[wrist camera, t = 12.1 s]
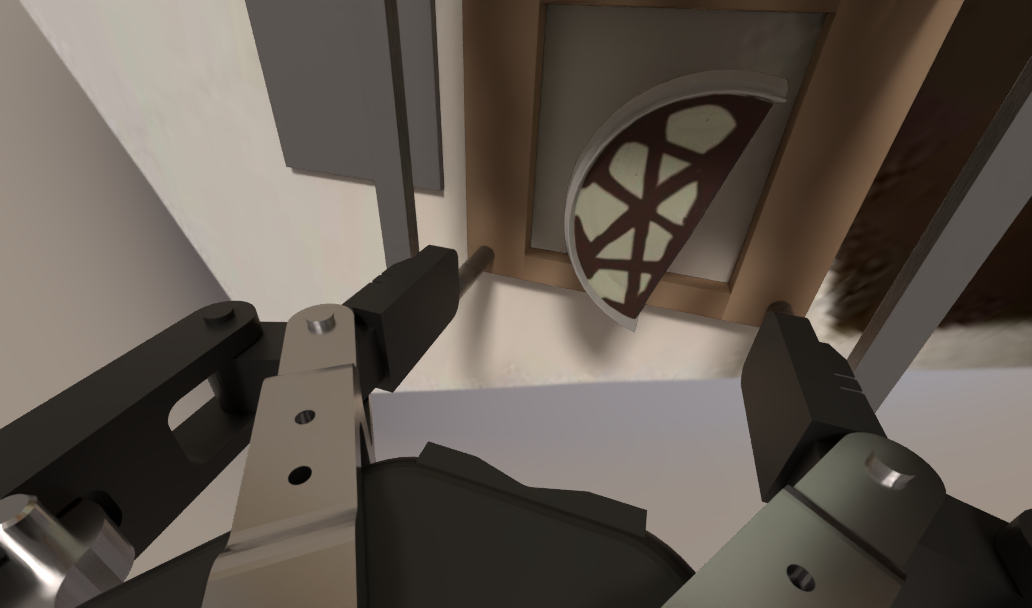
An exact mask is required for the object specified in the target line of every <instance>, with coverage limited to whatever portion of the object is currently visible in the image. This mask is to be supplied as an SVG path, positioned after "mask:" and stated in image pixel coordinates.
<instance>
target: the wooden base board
mask: <svg viewBox="0 0 1032 608" xmlns="http://www.w3.org/2000/svg"><path fill="white" fill-rule="evenodd" d="M963 1H964V0H462V13H463V60H464V106H465V153H466V199H467V246H468V259H469V258H470V257H471V256H472V255H473V254H474V253H475V252H476V251H477V249H478V248H479V247H481V246H488V247H490V248H491V249H492V250H493V251H494V254H495V258H494V260H493V261H492V262H491V263H490V265H489V266H488V267H487V268H486V269H485V270H484V272H489V273H494V274H499V275H504V276H509V277H513V278H518V279H523V280H528V281H533V282H538V283H543V284H548V285H553V286H558V287H563V288H568V289H573V290H578V291H583V292H586V291H585V289H584V288H583V286H582V284H581V282H580V281H579V279H578V277H577V275H576V273H575V271H574V269H573V267H572V264H571V261H570V258H569V255H568V254H565V253H559V252H554V251H548V250H543V249H537V248H532V247H530V246H531V231H532V216H533V201H534V186H535V171H536V156H537V141H538V127H539V112H540V97H541V82H542V67H543V52H544V37H545V22H546V7H547V4H559V5H588V6H618V7H647V8H677V9H706V10H736V11H765V12H795V13H824V14H827V16H826V19H825V22H824V25H823V27H822V30H821V33H820V36H819V38H818V41H817V44H816V47H815V49H814V52H813V55H812V57H811V60H810V63H809V66H808V68H807V71H806V74H805V77H804V79H803V82H802V85H801V88H800V90H799V93H798V96H797V99H796V101H795V104H794V107H793V110H792V112H791V115H790V118H789V120H788V123H787V126H786V129H785V131H784V134H783V137H782V140H781V142H780V145H779V148H778V151H777V153H776V156H775V159H774V162H773V164H772V167H771V170H770V172H769V175H768V178H767V181H766V183H765V186H764V189H763V192H762V194H761V197H760V200H759V203H758V205H757V208H756V211H755V214H754V216H753V219H752V222H751V225H750V227H749V230H748V233H747V235H746V238H745V241H744V244H743V246H742V249H741V252H740V255H739V257H738V260H737V263H736V266H735V268H734V271H733V274H732V277H731V279H730V282H729V283H724V282H718V281H713V280H707V279H702V278H696V277H691V276H685V275H680V274H674V273H669V272H665V274H664V275H663V277H662V278H661V280H660V281H659V283H658V284H657V286H656V287H655V289H654V290H653V292H652V293H651V295H650V297H649V298H648V300H647V302H646V303H645V304H647V305H652V306H657V307H662V308H667V309H672V310H676V311H681V312H686V313H691V314H696V315H701V316H706V317H711V318H716V319H721V320H726V321H731V322H736V323H741V324H746V325H751V326H756V327H761V325H762V322H763V320H764V318H765V316H766V315H767V307H768V306H769V305H770V304H771V303H773V302H776V301H785V302H787V303H789V304H790V305H791V307H792V309H793V311H794V314H795V316H800V317H805V316H806V314H807V312H808V310H809V308H810V306H811V304H812V302H813V300H814V298H815V296H816V294H817V292H818V290H819V288H820V286H821V284H822V282H823V280H824V278H825V276H826V274H827V272H828V270H829V268H830V266H831V264H832V262H833V260H834V258H835V256H836V254H837V252H838V250H839V248H840V246H841V244H842V242H843V240H844V238H845V236H846V234H847V232H848V230H849V228H850V226H851V224H852V222H853V220H854V218H855V216H856V214H857V212H858V210H859V208H860V206H861V204H862V202H863V200H864V198H865V196H866V194H867V192H868V190H869V188H870V186H871V184H872V182H873V180H874V178H875V176H876V174H877V172H878V170H879V168H880V166H881V165H882V163H883V161H884V159H885V157H886V155H887V153H888V151H889V149H890V147H891V145H892V143H893V141H894V139H895V137H896V135H897V133H898V131H899V129H900V127H901V125H902V123H903V121H904V119H905V117H906V115H907V113H908V111H909V109H910V107H911V105H912V103H913V101H914V99H915V97H916V95H917V93H918V91H919V89H920V87H921V85H922V83H923V81H924V79H925V77H926V75H927V73H928V71H929V69H930V67H931V65H932V63H933V61H934V59H935V57H936V55H937V53H938V51H939V49H940V47H941V45H942V43H943V41H944V39H945V37H946V35H947V33H948V31H949V29H950V27H951V25H952V23H953V21H954V19H955V17H956V15H957V13H958V11H959V9H960V7H961V5H962V3H963Z"/></svg>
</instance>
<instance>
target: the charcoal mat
mask: <svg viewBox="0 0 1032 608" xmlns="http://www.w3.org/2000/svg"><path fill="white" fill-rule="evenodd" d="M245 2H246V6H247V11H248V15H249V19H250V23H251V27H252V31H253V35H254V39H255V43H256V47H257V51H258V55H259V59H260V63H261V67H262V71H263V75H264V79H265V83H266V87H267V91H268V95H269V99H270V103H271V107H272V111H273V115H274V119H275V123H276V127H277V131H278V135H279V139H280V143H281V147H282V151H283V155H284V159H285V163H286V167H291V168H297V169H304V170H310V171H317V172H323V173H329V174H336V175H342V176H349V177H355V178H361V179H368V180H374V172H373V165H372V158H371V151H370V144H369V136H368V129H367V122H366V115H365V108H364V101H363V93H362V86H361V79H360V72H359V65H358V57H357V50H356V43H355V36H354V29H353V22H352V14H351V7H350V0H245ZM397 9H398V20H399V32H400V43H401V54H402V65H403V76H404V87H405V98H406V109H407V120H408V132H409V143H410V154H411V165H412V176H413V187H419V188H425V189H432V190H438V191H441V190H443V189H444V176H443V156H442V136H441V116H440V96H439V76H438V56H437V36H436V16H435V0H397ZM374 181H375V180H374Z"/></svg>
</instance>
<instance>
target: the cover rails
mask: <svg viewBox="0 0 1032 608" xmlns="http://www.w3.org/2000/svg"><path fill="white" fill-rule="evenodd" d="M350 7H351V14H352V22H353V29H354V36H355V43H356V50H357V57H358V65H359V72H360V79H361V86H362V93H363V101H364V108H365V115H366V122H367V129H368V136H369V144H370V151H371V158H372V165H373V172H374V180H375V187H376V194H377V201H378V208H379V216H380V223H381V230H382V237H383V244H384V251H385V259H386V266H387V269H388V268H389V267H390V266H392V265H393V264H395V263H398V262H401V261H403V260H406V259H408V258H413V257H414V256H415V255H417V254H418V253H419V243H418V232H417V221H416V209H415V198H414V187H413V176H412V165H411V154H410V143H409V132H408V120H407V109H406V98H405V87H404V76H403V65H402V54H401V43H400V32H399V20H398V9H397V0H350ZM1031 196H1032V56H1031V58H1030V60H1029V61H1028V63H1027V65H1026V66H1025V68H1024V70H1023V71H1022V73H1021V75H1020V76H1019V78H1018V79H1017V81H1016V83H1015V84H1014V86H1013V88H1012V89H1011V91H1010V93H1009V94H1008V96H1007V97H1006V99H1005V101H1004V102H1003V104H1002V106H1001V107H1000V109H999V111H998V112H997V114H996V116H995V117H994V119H993V120H992V122H991V124H990V125H989V127H988V129H987V130H986V132H985V134H984V135H983V137H982V139H981V140H980V142H979V143H978V145H977V147H976V148H975V150H974V152H973V153H972V155H971V157H970V158H969V160H968V162H967V163H966V165H965V166H964V168H963V170H962V171H961V173H960V175H959V176H958V178H957V180H956V181H955V183H954V185H953V186H952V188H951V189H950V191H949V193H948V194H947V196H946V198H945V199H944V201H943V203H942V204H941V206H940V208H939V209H938V211H937V212H936V214H935V216H934V217H933V219H932V221H931V222H930V224H929V226H928V227H927V229H926V231H925V232H924V234H923V235H922V237H921V239H920V240H919V242H918V244H917V245H916V247H915V249H914V250H913V252H912V254H911V255H910V257H909V258H908V260H907V262H906V263H905V265H904V267H903V268H902V270H901V272H900V273H899V275H898V277H897V278H896V280H895V281H894V283H893V285H892V286H891V288H890V290H889V291H888V293H887V295H886V296H885V298H884V300H883V301H882V303H881V304H880V306H879V308H878V309H877V311H876V313H875V314H874V316H873V318H872V319H871V321H870V323H869V324H868V326H867V327H866V329H865V331H864V332H863V334H862V336H861V337H860V339H859V341H858V342H857V344H856V345H855V347H854V349H853V350H852V352H851V354H850V355H849V357H848V359H847V362H848V364H849V366H850V368H851V370H852V371H853V373H854V375H855V380H857V381H858V383H859V385H860V387H861V389H862V390H863V391H862V394H865V396H866V398H867V400H868V402H869V404H870V406H871V408H872V409H873V411H874V413H875V412H876V411H877V409H878V408H879V407H880V405H881V404H882V402H883V401H884V400H885V398H886V397H887V396H888V394H889V393H890V391H891V390H892V389H893V387H894V386H895V384H896V383H897V382H898V380H899V379H900V378H901V376H902V375H903V373H904V372H905V371H906V369H907V368H908V366H909V365H910V364H911V362H912V361H913V359H914V358H915V357H916V355H917V354H918V353H919V351H920V350H921V348H922V347H923V346H924V344H925V343H926V341H927V340H928V339H929V337H930V336H931V334H932V333H933V332H934V330H935V329H936V328H937V326H938V325H939V323H940V322H941V321H942V319H943V318H944V316H945V315H946V314H947V312H948V311H949V310H950V308H951V307H952V305H953V304H954V303H955V301H956V300H957V298H958V297H959V296H960V294H961V293H962V291H963V290H964V289H965V287H966V286H967V285H968V283H969V282H970V280H971V279H972V278H973V276H974V275H975V273H976V272H977V271H978V269H979V268H980V266H981V265H982V264H983V262H984V261H985V260H986V258H987V257H988V255H989V254H990V253H991V251H992V250H993V248H994V247H995V246H996V244H997V243H998V241H999V240H1000V239H1001V237H1002V236H1003V235H1004V233H1005V232H1006V230H1007V229H1008V228H1009V226H1010V225H1011V223H1012V222H1013V221H1014V219H1015V218H1016V216H1017V215H1018V214H1019V212H1020V211H1021V210H1022V208H1023V207H1024V205H1025V204H1026V203H1027V201H1028V200H1029V198H1030V197H1031ZM494 258H495V254H494V251H493V250H492V249H491V248H490V247H488V246H481V247H479V248H478V249H477V251H476V252H475V253H474V254H473V255H472V256H471V257H470V258H469V259H468V260H467V261H466V262H465V263H464V264H463V265H462V266H461V267H460V268H459V269H458V270H459V300H460V298H461V297H462V296H463V295H464V294H465V293H466V291H467V290H468V289H469V288H470V287H471V286H472V284H473V283H474V282H475V281H476V280H477V279H478V277H479V276H480V275H481V274H482V273H483V272H484V270H485V269H486V268H487V267H488V266H489V265H490V263H491V262H492V261H493V260H494ZM770 311H774V312H779V313H784V314H789V315H794V316H795V314H794V311H793V309H792V307H791V305H790V304H789V303H787V302H785V301H776V302H773V303H771V304H770V305H769V306H768V307H767V314H768V313H769V312H770Z"/></svg>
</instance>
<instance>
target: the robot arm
mask: <svg viewBox="0 0 1032 608" xmlns="http://www.w3.org/2000/svg"><path fill="white" fill-rule="evenodd" d="M458 305H459V270H458V255H457V252H456V251H455V250H454V249H449V248H444V247H439V246H433V245H428V246H426V247H425V248H424V249H423V250H422V251H420V252H419V253H418V254H417V255H415V256H414V257H413V258H408V259H406V260H403V261H401V262H398V263H395V264H393V265H392V266H390V267H389V268H388V269H387V270H385V271H384V272H383V273H382V275H379V276H378V277H376V278H375V279H374V280H373V281H372V283H369V284H367V285H366V286H365V287H364V288H362V289H361V290H360V291H359V292H357V293H356V294H355V295H353V296H352V297H351V298H350V299H348V300H347V301H346V302H344V303H343V304H342V305H339V304H320V305H315V306H311V307H308V308H306V309H303V310H301V311H299V312H298V313H296V314H295V315H293V316H292V317H291V318H290V319H289V321H288V322H260V321H259V318H258V315H257V312H256V309H255V307H254V306H253V305H252V304H250V303H247V302H243V301H226V302H220V303H215V304H212V305H209V306H206V307H203V308H201V309H199V310H197V311H195V312H193V313H192V314H190V315H188V316H187V317H185V318H183V319H182V320H180V321H178V322H177V323H175V324H174V325H172V326H170V327H169V328H167V329H165V330H164V331H162V332H160V333H159V334H157V335H155V336H154V337H152V338H151V339H149V340H147V341H146V342H144V343H142V344H140V345H139V346H137V347H135V348H134V349H132V350H131V351H129V352H127V353H126V354H124V355H122V356H121V357H119V358H117V359H116V360H114V361H112V362H111V363H109V364H108V365H106V366H104V367H102V368H101V369H99V370H97V371H96V372H94V373H92V374H91V375H89V376H88V377H86V378H84V379H83V380H81V381H79V382H78V383H76V384H74V385H73V386H71V387H69V388H68V389H66V390H64V391H63V392H61V393H59V394H58V395H56V396H55V397H53V398H51V399H49V400H48V401H46V402H45V403H43V404H41V405H40V406H38V407H36V408H35V409H33V410H31V411H30V412H28V413H26V414H25V415H23V416H21V417H20V418H18V419H16V420H15V421H13V422H12V423H10V424H8V425H6V426H5V427H3V428H2V429H0V608H1032V509H1029V510H1025V511H1024V512H1023V513H1021V514H1020V515H1019V516H1018V517H1016V518H1015V519H1014V520H1013V521H1011V522H1010V523H1008V522H1006V521H1004V520H1001V519H1000V518H997V517H995V516H993V515H990V514H989V513H986V512H984V511H982V510H980V509H977V508H975V507H973V506H971V505H969V504H967V503H964V502H962V501H960V500H958V499H956V498H954V497H952V496H950V495H947V494H946V489H945V486H944V484H943V482H942V480H941V478H940V477H939V475H938V474H937V473H936V472H935V471H934V469H933V468H932V467H931V466H930V465H929V464H928V463H926V462H925V461H924V460H923V459H922V458H921V457H919V456H918V455H917V454H915V453H914V452H912V451H911V450H909V449H908V448H906V447H904V446H902V445H900V444H899V443H897V442H894V441H892V440H890V439H888V438H887V436H886V434H885V432H884V430H883V428H882V427H881V425H880V423H879V421H878V419H877V417H876V415H875V413H874V411H873V409H872V408H871V406H870V404H869V402H868V400H867V398H866V396H865V394H862V391H863V390H862V389H861V387H860V385H859V383H858V381H857V380H855V375H854V373H853V371H852V370H851V368H850V366H849V364H848V362H847V360H846V359H845V358H844V357H843V356H842V355H840V354H839V353H838V352H837V351H836V350H835V349H834V348H833V347H832V346H831V345H829V344H827V343H822V342H819V340H818V338H817V336H816V334H815V332H814V330H813V328H812V325H811V323H810V321H809V320H808V319H807V318H805V317H800V316H794V315H789V314H784V313H779V312H774V311H770V312H769V313H768V314H767V315H766V316H765V318H764V320H763V322H762V325H761V327H760V329H759V331H758V334H757V336H756V338H755V340H754V343H753V345H752V347H751V349H750V352H749V354H748V356H747V358H746V361H745V363H744V366H743V370H742V376H741V388H742V394H743V399H744V404H745V410H746V416H747V421H748V427H749V433H750V438H751V444H752V449H753V455H754V459H755V465H756V471H757V476H758V482H759V488H760V493H761V499H762V502H766V503H768V504H767V505H766V506H765V507H764V508H762V509H761V510H760V511H759V513H757V514H756V515H755V516H754V517H753V518H752V519H751V520H750V521H749V522H748V523H747V524H746V525H745V526H744V527H743V528H742V529H741V530H740V531H739V532H738V533H737V534H736V535H735V536H734V537H733V538H732V539H731V540H730V541H729V542H728V543H727V544H726V545H725V546H723V547H722V549H721V550H719V551H718V552H717V553H716V554H715V555H714V556H713V557H712V558H711V559H710V560H709V561H708V562H707V563H706V564H705V565H704V566H703V567H702V568H701V569H700V570H699V571H698V572H697V573H696V572H695V571H694V570H693V569H692V568H691V567H690V566H689V565H688V564H687V562H686V561H685V560H684V559H682V557H681V556H680V555H678V554H677V553H676V552H675V551H674V550H673V549H672V548H671V547H670V546H668V545H667V544H666V543H664V542H663V541H662V540H660V539H659V538H657V537H656V536H655V535H653V534H651V533H650V532H648V531H646V517H647V510H645V509H641V508H638V507H635V506H632V505H629V504H625V503H622V502H619V501H616V500H613V499H610V498H607V497H603V496H600V495H596V494H594V493H591V492H585V491H573V490H560V489H548V488H534V487H528V486H525V485H523V484H521V483H519V482H517V481H516V480H514V479H512V478H511V477H509V476H508V475H506V474H504V473H503V472H501V471H499V470H498V469H496V468H495V467H493V466H491V465H489V464H488V463H486V462H485V461H483V460H481V459H480V458H478V457H476V456H473V455H470V454H467V453H463V452H460V451H457V450H454V449H451V448H447V447H444V446H441V445H438V444H435V443H432V442H428V443H427V444H426V446H425V448H424V449H423V451H422V452H421V454H420V455H419V457H399V458H392V459H387V460H383V461H379V462H376V459H375V447H374V435H373V424H372V411H371V401H370V396H369V394H370V393H371V392H372V391H373V390H374V389H375V388H379V389H382V390H385V391H389V392H392V393H393V392H394V391H395V389H396V388H397V387H398V386H399V385H400V383H401V382H402V381H403V380H404V378H405V377H406V376H407V375H408V373H409V372H410V371H411V370H412V369H413V367H414V366H415V365H416V364H417V362H418V361H419V360H420V359H421V357H422V356H423V355H424V354H425V352H426V351H427V350H428V349H429V348H430V346H431V345H432V344H433V343H434V341H435V340H436V339H437V338H438V336H439V335H440V334H441V333H442V332H443V330H444V329H445V328H446V327H447V325H448V324H449V323H450V322H451V320H452V319H453V318H454V316H455V314H456V312H457V309H458ZM206 379H208V381H209V383H210V386H211V387H212V389H213V392H214V394H215V396H214V397H213V398H212V399H211V400H209V401H208V402H207V403H206V404H205V405H203V406H202V407H201V408H200V409H198V410H197V411H196V412H195V413H194V414H192V415H191V416H190V417H189V418H188V419H186V420H185V421H184V422H183V423H182V424H180V425H179V426H178V427H177V428H175V429H174V430H173V431H171V429H170V427H169V425H168V416H169V413H170V410H171V409H172V407H173V406H174V405H175V403H176V402H177V401H179V400H180V399H181V398H182V397H183V396H185V395H186V394H187V393H189V392H190V391H191V390H193V389H194V388H195V387H196V386H198V385H199V384H200V383H201V382H203V381H204V380H206ZM249 443H250V445H249V449H248V454H247V459H246V463H245V468H244V473H243V477H242V482H241V487H240V491H239V496H238V501H237V505H236V510H235V515H234V519H233V524H232V529H231V531H229V532H227V533H225V534H223V535H221V536H219V537H216V538H214V539H212V540H210V541H208V542H206V543H204V544H202V545H200V546H198V547H196V548H194V549H192V550H190V551H188V552H186V553H183V554H181V555H180V556H177V557H175V558H173V559H171V560H169V561H167V562H165V563H163V564H161V565H159V566H157V567H155V568H153V569H151V570H149V571H146V572H144V573H142V574H140V575H138V576H136V577H134V578H132V579H130V580H128V581H126V582H124V580H125V579H126V577H127V576H128V574H129V572H130V570H131V568H132V565H133V562H134V560H135V559H136V558H137V557H138V556H139V555H140V554H141V553H142V552H143V551H144V550H145V549H146V548H147V547H148V546H149V545H150V544H151V543H152V542H153V541H154V540H155V539H156V538H157V537H158V536H159V535H160V534H161V533H162V532H163V531H164V530H165V529H166V527H168V526H169V525H170V524H171V523H172V522H173V520H175V519H176V518H177V517H178V516H179V514H181V512H182V511H183V510H184V509H185V508H186V507H187V506H188V505H189V504H190V503H191V502H192V501H193V500H194V499H195V498H196V497H197V496H198V495H199V494H200V493H201V492H202V491H203V490H204V489H205V488H206V487H207V486H208V485H209V484H210V483H211V482H212V481H213V480H214V479H215V478H216V477H217V476H218V475H219V474H220V472H222V471H223V470H224V469H225V468H226V467H227V466H228V465H229V464H230V462H231V461H232V460H233V459H234V458H235V457H236V456H237V455H238V454H239V453H240V452H241V451H242V450H243V449H244V448H245V447H246V446H247V445H248V444H249ZM123 582H124V583H123Z"/></svg>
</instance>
